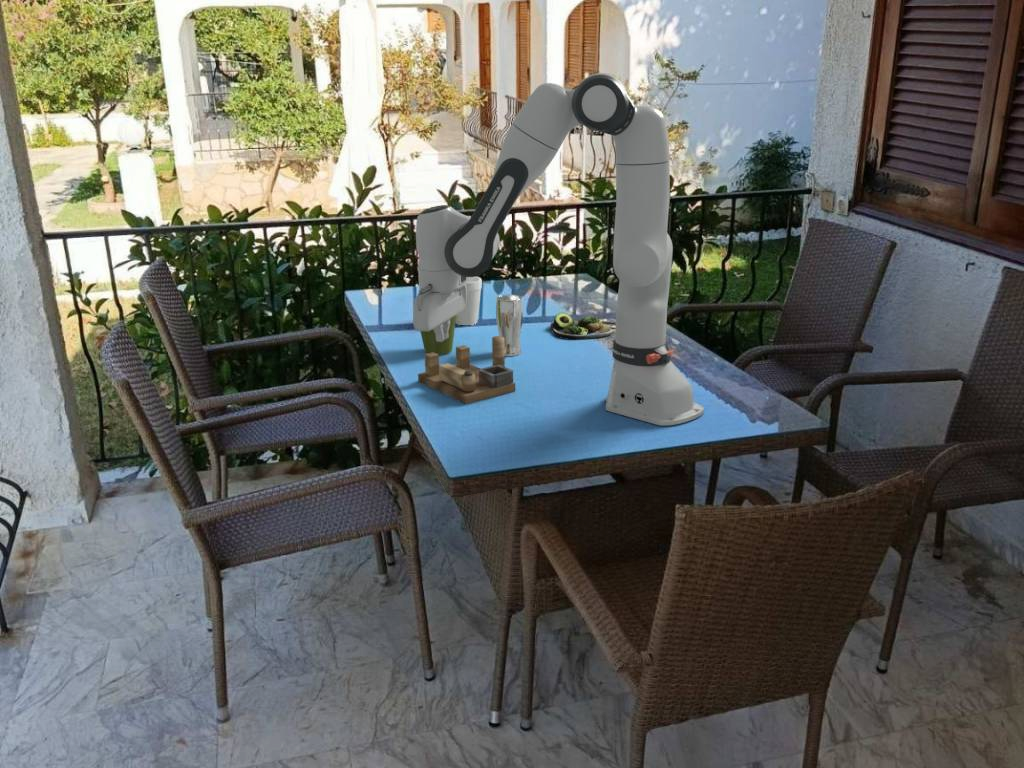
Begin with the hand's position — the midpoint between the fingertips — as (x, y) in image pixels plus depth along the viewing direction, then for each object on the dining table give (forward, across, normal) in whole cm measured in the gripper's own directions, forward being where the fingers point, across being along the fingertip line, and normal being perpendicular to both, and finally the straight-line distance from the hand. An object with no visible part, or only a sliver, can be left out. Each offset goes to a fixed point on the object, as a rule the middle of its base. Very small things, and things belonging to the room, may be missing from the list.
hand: (442, 340), depth 209 cm
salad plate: (+14, +61, -12) cm, 64 cm away
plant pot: (+13, +29, +16) cm, 36 cm away
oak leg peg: (+14, +19, -5) cm, 24 cm away
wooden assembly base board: (+13, +7, -2) cm, 15 cm away
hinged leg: (+11, +2, -2) cm, 11 cm away
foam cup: (+13, +57, +21) cm, 63 cm away
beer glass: (+14, +35, -2) cm, 38 cm away
